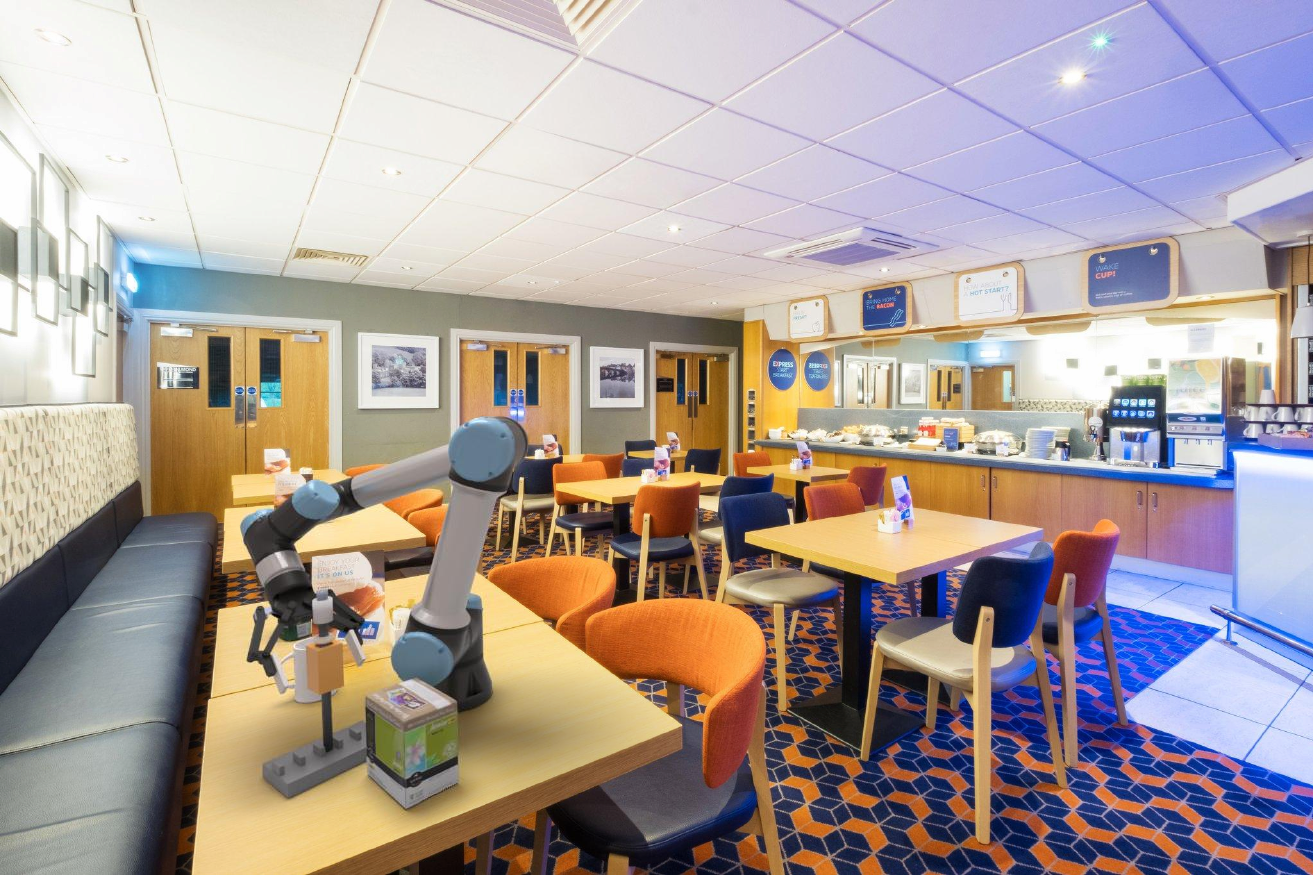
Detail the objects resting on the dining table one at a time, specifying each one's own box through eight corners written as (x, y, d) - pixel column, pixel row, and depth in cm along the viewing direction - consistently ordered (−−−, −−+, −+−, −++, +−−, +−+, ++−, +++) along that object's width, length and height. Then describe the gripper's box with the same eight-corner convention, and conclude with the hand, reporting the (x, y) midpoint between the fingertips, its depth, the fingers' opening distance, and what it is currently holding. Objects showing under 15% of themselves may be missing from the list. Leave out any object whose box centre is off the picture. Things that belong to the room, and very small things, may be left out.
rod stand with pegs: (362, 732, 122) (357, 575, 120) (390, 749, 116) (384, 583, 115) (262, 777, 108) (254, 599, 106) (288, 798, 102) (279, 610, 100)
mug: (278, 711, 131) (275, 656, 130) (276, 696, 138) (273, 644, 137) (339, 696, 138) (337, 644, 137) (334, 682, 145) (332, 632, 144)
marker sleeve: (332, 679, 114) (330, 637, 114) (344, 685, 112) (342, 643, 111) (307, 688, 111) (305, 645, 110) (319, 695, 108) (317, 651, 108)
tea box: (461, 782, 106) (459, 699, 105) (404, 812, 98) (402, 722, 98) (419, 750, 116) (416, 674, 115) (365, 774, 108) (362, 693, 108)
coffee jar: (274, 635, 175) (271, 571, 173) (304, 627, 181) (301, 565, 180) (286, 644, 168) (283, 577, 167) (317, 635, 174) (314, 571, 173)
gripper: (342, 576, 130) (383, 662, 123) (204, 608, 110) (241, 713, 102) (354, 555, 127) (397, 642, 119) (214, 584, 107) (253, 691, 99)
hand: (325, 675), depth 111 cm, fingers open, 13 cm apart
